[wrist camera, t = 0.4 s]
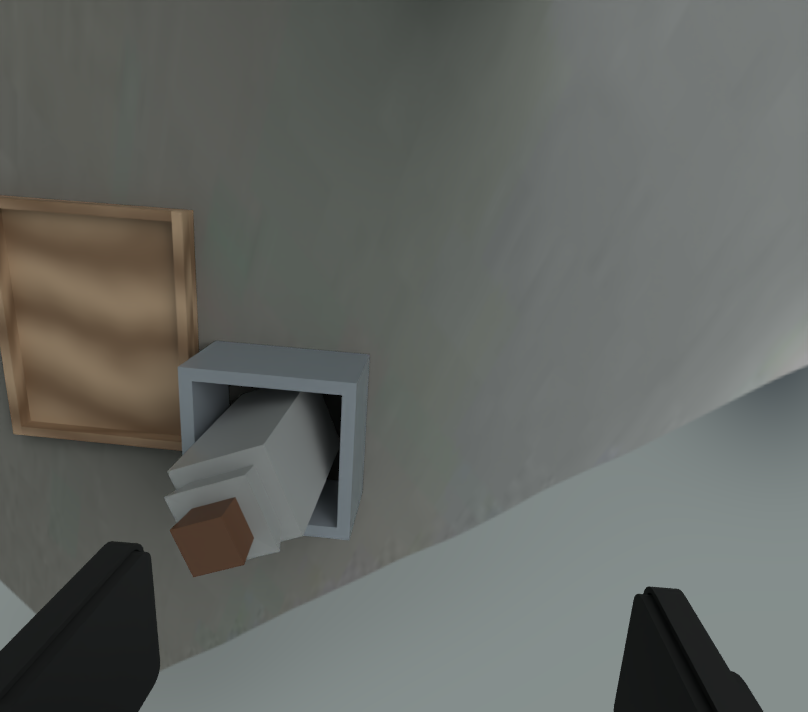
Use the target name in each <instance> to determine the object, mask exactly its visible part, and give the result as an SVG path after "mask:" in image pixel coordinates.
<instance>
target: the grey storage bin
mask: <svg viewBox="0 0 808 712" xmlns="http://www.w3.org/2000/svg"><path fill="white" fill-rule="evenodd" d="M369 360H370V354H359V353H348V352H337V351H326V350H314V349H303V348H292V347H281V346H270V345H259V344H247V343H236V342H225V341H215V342H213V343H212V344H210V345H209V346H207V347H206V348H204V349H203V350H202V351H200V352H199V353H197V354H196V355H194V356H193V357H191V358H190V359H188V360H187V361H186V362H184V363H183V364H181V365H180V366H178V383H179V401H180V420H181V439H182V456H183V455H184V454H185V452H186V451H187V450H188V449H189V448H190V447H191V446H192V445H193V444H194V443H195V442H196V441H197V440H198V439H199V438H200V437H201V436H202V435H203V434H204V433H205V432H206V431H207V430H208V429H209V428H210V427H211V426H212V425H213V424H214V423H215V421H216V420H217V419H218V418H219V417H220V416H221V415H222V414H223V413H224V412H225V411H226V410H227V409H228V408H229V385H238V386H248V387H259V388H270V389H281V390H291V391H302V392H313V393H323V394H334V395H342V412H341V437H340V463H339V480H329V479H326V481H325V484H324V486H323V489H322V491H321V494H320V496H319V499H318V501H317V503H316V506H315V508H314V511H313V513H312V516H311V518H310V521H309V523H308V526H307V528H306V530H305V533H304V535H305V536H315V537H324V538H333V539H343V540H349V539H350V536H351V532H352V528H353V525H354V521H355V518H356V514H357V510H358V507H359V503H360V499H361V496H362V490H363V472H364V453H365V434H366V416H367V397H368V379H369Z"/></svg>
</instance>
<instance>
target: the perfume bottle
mask: <svg viewBox="0 0 808 712" xmlns="http://www.w3.org/2000/svg"><path fill="white" fill-rule="evenodd" d="M339 447H340V439H339V437H338V434H337V431H336V429H335V426H334V424H333V421H332V419H331V416H330V414H329V411H328V408H327V406H326V403H325V401H324V398H323V396H322V393H313V392H302V391H291V390H281V389H270V388H262V389H259V390H255V391H252V392H249V393H245V394H242V395H241V396H240V397H239V398H238V399H237V400H236V401H235V402H234V403H233V404H232V405H231V406H230V407H229V408H228V409H227V410H226V411H225V412H224V413H223V414H222V415H221V416H220V417H219V418H218V419H217V420H216V421H215V423H214V424H213V425H212V426H211V427H210V428H209V429H208V430H207V431H206V432H205V433H204V434H203V435H202V436H201V437H200V438H199V439H198V440H197V441H196V442H195V443H194V444H193V445H192V446H191V447H190V448H189V449H188V450H187V451H186V452H185V454H184V455H183V456H182V457H181V458H180V459H179V460H178V461H177V462H176V463H175V464H174V465H173V466H172V467H171V468H170V469H169V470H168V471H167V473H168V475H169V477H170V479H171V481H172V483H173V485H174V487H175V489H176V491H174V492H172V493H170V494H168V495H167V496H165V497H164V498H165V500H166V502H167V504H168V506H169V508H170V510H171V512H172V514H173V516H174V518H175V520H176V522H177V524H176V525H174V526H173V527H172V528H171V529H170V532H171V534H172V536H173V538H174V540H175V542H176V544H177V546H178V548H179V550H180V552H181V554H182V556H183V558H184V560H185V562H186V564H187V566H188V568H189V570H190V572H191V574H192V575H193V577H196V576H200V575H205V574H209V573H213V572H217V571H221V570H225V569H229V568H233V567H237V566H241V565H244V564H245V561H246V560H247V559H251V558H255V557H259V556H263V555H267V554H271V553H276V552H280V542H281V541H285V540H289V539H293V538H297V537H301V536H303V535H304V533H305V530H306V528H307V526H308V523H309V521H310V518H311V516H312V513H313V511H314V508H315V506H316V503H317V501H318V499H319V496H320V494H321V491H322V489H323V486H324V484H325V481H326V479H327V477H328V474H329V472H330V469H331V467H332V464H333V462H334V459H335V457H336V455H337V452H338V450H339Z"/></svg>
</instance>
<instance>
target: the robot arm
mask: <svg viewBox="0 0 808 712" xmlns="http://www.w3.org/2000/svg"><path fill="white" fill-rule="evenodd" d="M159 669H160V655H159V644H158V632H157V621H156V609H155V598H154V586H153V575H152V563H151V556H150V554H149V553H148V552H144V550H143V547H142V546H141V545H140V544H138V543H126V542H114V541H111V542H108V543H107V544H105V545H104V546H103V547H102V548H101V549H100V550H99V551H98V552H97V553H96V554H95V555H94V556H93V557H92V558H91V559H90V560H89V561H88V562H87V563H86V564H85V565H84V566H83V567H82V569H81V570H80V571H79V572H78V573H77V574H76V575H75V576H74V577H73V578H72V579H71V580H70V581H69V582H68V583H67V584H66V585H65V586H64V587H63V588H62V589H61V590H60V591H59V592H58V593H57V594H56V595H55V596H54V597H53V598H52V599H51V600H50V601H49V602H48V603H47V604H46V605H45V606H44V607H43V608H42V609H41V610H40V611H39V612H38V613H37V614H36V615H35V616H34V617H33V618H32V619H31V620H30V621H29V623H28V624H26V625H25V626H24V627H23V628H22V629H21V631H19V633H18V634H17V635H16V636H15V637H14V638H13V639H12V640H11V641H10V642H9V643H8V644H7V645H6V646H5V647H4V648H3V649H2V650H1V651H0V712H138V711H139V710H140V708H141V706H142V705H143V702H144V701H145V700H146V698H147V696H148V694H149V693H150V691H151V690H152V688H153V686H154V684H155V682H156V680H157V677H158V674H159ZM614 712H763V710H762V709H761V707H760V706H759V704H758V702H757V701H756V699H755V697H754V696H753V694H752V693H751V691H750V689H749V688H748V686H747V685H746V683H745V682H744V680H743V679H742V678H741V677H740V676H739V675H738V674H736V673H735V672H732V671H730V670H729V668H728V666H727V665H726V663H725V661H724V660H723V658H722V656H721V655H720V654H719V652H718V650H717V648H716V647H715V645H714V643H713V641H712V640H711V638H710V636H709V635H708V633H707V631H706V630H705V628H704V627H703V625H702V623H701V622H700V620H699V618H698V617H697V615H696V613H695V612H694V610H693V609H692V607H691V605H690V603H689V602H688V600H687V598H686V597H685V595H684V594H683V592H682V591H681V590H679V589H671V588H659V587H646V589H645V590H644V593H643V594H637V595H635V597H634V601H633V607H632V612H631V617H630V623H629V628H628V634H627V639H626V644H625V650H624V655H623V661H622V666H621V671H620V676H619V682H618V687H617V693H616V698H615V704H614Z"/></svg>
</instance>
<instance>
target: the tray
mask: <svg viewBox="0 0 808 712" xmlns="http://www.w3.org/2000/svg"><path fill="white" fill-rule="evenodd" d="M0 348H1V355H2V362H3V368H4V375H5V381H6V388H7V395H8V401H9V408H10V414H11V421H12V427H13V434H18V435H28V436H38V437H48V438H58V439H68V440H78V441H88V442H98V443H108V444H118V445H128V446H138V447H148V448H158V449H168V450H178V451H182V439H181V420H180V401H179V383H178V366H180V365H181V364H183V363H184V362H186V361H187V360H188V359H190V358H191V357H193V356H194V355H196V354H197V353H199V342H198V318H197V294H196V270H195V246H194V222H193V210H183V209H170V208H157V207H144V206H131V205H118V204H105V203H92V202H79V201H67V200H54V199H41V198H28V197H15V196H2V195H0Z"/></svg>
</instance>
